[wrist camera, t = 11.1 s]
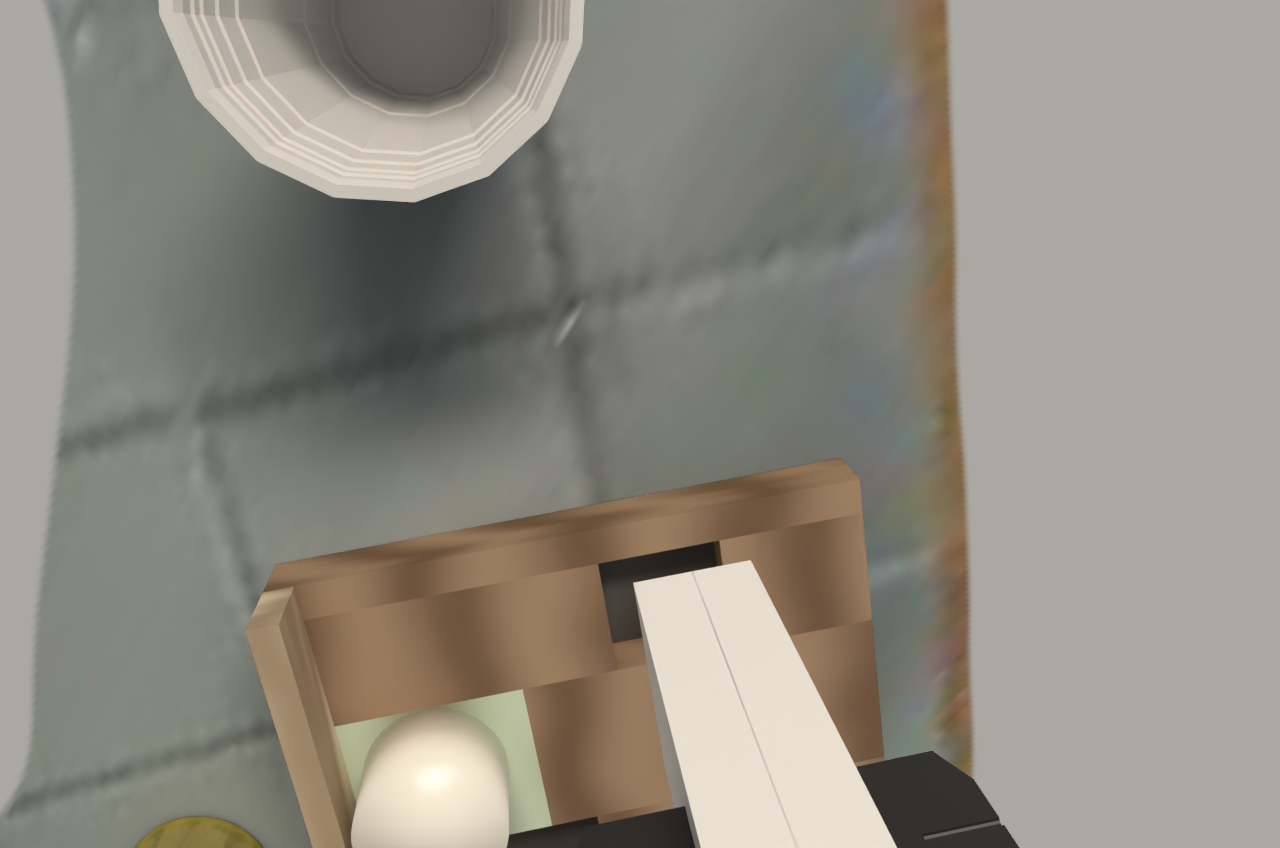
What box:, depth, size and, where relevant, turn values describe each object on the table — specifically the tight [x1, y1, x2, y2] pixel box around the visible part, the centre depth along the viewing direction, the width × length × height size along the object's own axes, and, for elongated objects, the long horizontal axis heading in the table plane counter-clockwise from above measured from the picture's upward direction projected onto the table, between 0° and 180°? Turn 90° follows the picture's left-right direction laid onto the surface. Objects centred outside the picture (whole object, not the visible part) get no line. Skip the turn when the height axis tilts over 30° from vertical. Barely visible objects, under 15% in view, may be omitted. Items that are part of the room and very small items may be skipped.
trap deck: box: [245, 458, 884, 848], centre depth 45 cm, size 24×20×6 cm
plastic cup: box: [159, 0, 584, 202], centre depth 32 cm, size 11×11×12 cm
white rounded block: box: [351, 710, 509, 848], centre depth 43 cm, size 6×6×4 cm
